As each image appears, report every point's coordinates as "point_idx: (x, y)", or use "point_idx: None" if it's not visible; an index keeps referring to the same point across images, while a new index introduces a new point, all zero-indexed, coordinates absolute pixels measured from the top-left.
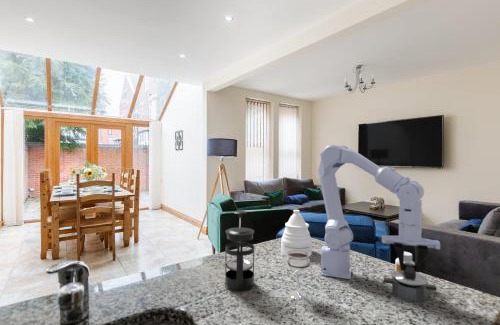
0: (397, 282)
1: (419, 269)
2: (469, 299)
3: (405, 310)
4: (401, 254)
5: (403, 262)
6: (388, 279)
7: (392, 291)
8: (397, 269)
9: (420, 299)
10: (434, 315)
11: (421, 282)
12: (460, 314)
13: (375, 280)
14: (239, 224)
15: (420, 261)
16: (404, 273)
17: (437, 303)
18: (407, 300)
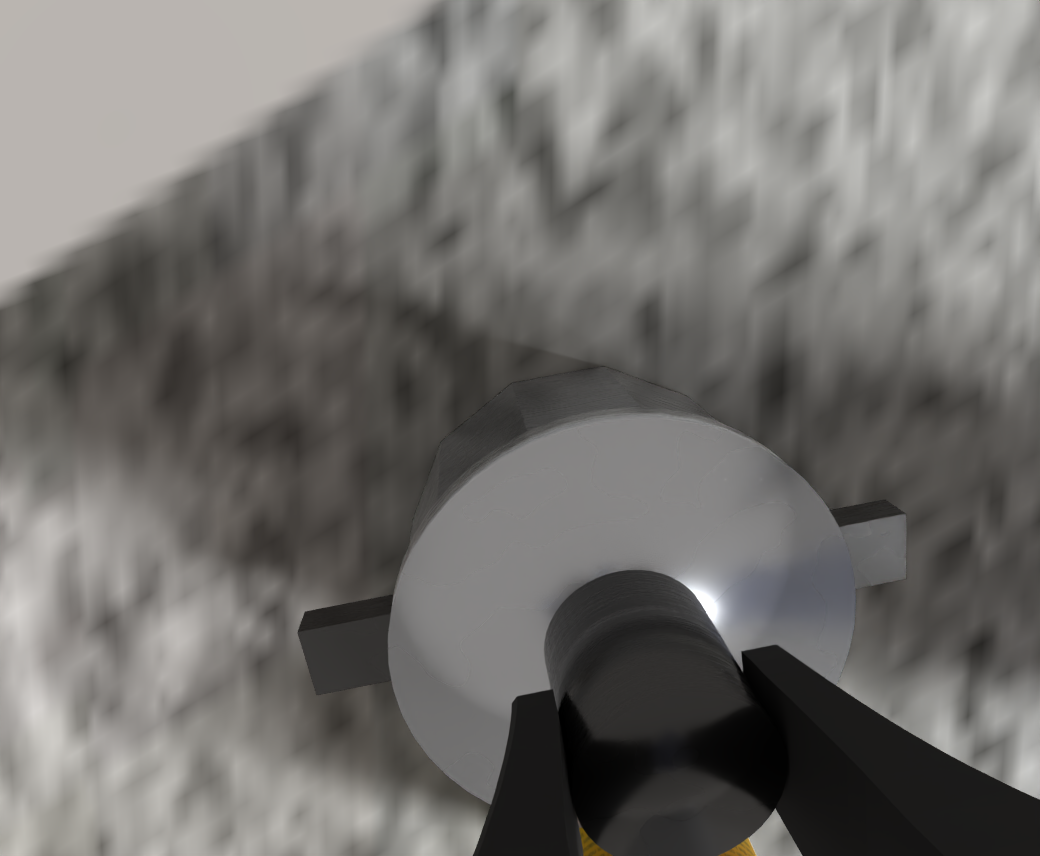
0: None
1: (510, 731)
2: (41, 764)
3: (617, 140)
4: (1005, 851)
5: (823, 732)
6: (850, 556)
7: None
8: (749, 852)
9: (472, 427)
10: (334, 199)
11: (470, 518)
12: (98, 381)
13: (891, 685)
14: None
15: (509, 851)
16: (712, 623)
17: (314, 505)
18: (598, 371)
